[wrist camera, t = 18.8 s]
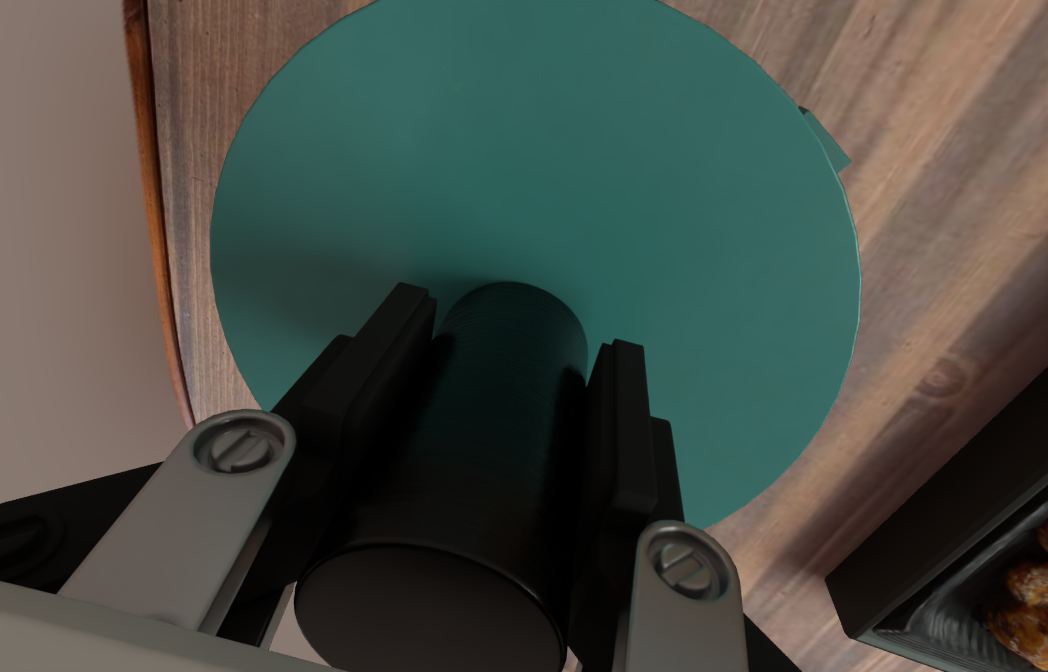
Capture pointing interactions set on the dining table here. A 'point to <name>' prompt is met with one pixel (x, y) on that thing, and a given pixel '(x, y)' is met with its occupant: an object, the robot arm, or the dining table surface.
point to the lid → (528, 292)
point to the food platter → (963, 556)
